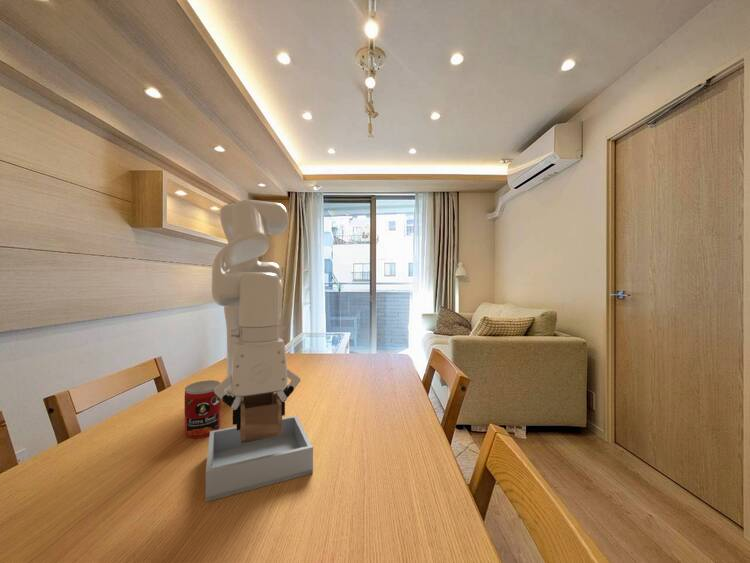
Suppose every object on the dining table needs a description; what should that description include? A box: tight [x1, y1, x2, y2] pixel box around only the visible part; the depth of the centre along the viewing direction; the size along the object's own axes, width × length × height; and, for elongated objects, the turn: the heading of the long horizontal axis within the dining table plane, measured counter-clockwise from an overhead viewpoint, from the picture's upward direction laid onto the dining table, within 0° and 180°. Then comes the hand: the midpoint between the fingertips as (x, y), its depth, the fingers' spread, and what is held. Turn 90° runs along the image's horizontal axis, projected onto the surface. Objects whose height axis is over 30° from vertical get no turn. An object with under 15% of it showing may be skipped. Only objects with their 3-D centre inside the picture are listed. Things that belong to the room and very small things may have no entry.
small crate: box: [240, 392, 283, 444], centre depth 61 cm, size 10×7×6 cm
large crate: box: [205, 415, 314, 503], centre depth 62 cm, size 15×18×5 cm
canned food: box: [184, 379, 222, 439], centre depth 75 cm, size 8×8×11 cm
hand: (259, 422), depth 61 cm, fingers closed on small crate, 7 cm apart
